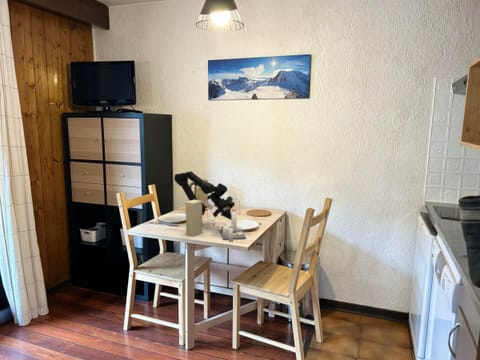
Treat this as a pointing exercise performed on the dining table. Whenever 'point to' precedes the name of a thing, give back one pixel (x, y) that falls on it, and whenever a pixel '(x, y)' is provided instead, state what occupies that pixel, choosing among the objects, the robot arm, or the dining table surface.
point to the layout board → (235, 235)
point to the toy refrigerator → (194, 217)
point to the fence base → (228, 232)
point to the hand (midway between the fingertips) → (232, 219)
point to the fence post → (233, 220)
